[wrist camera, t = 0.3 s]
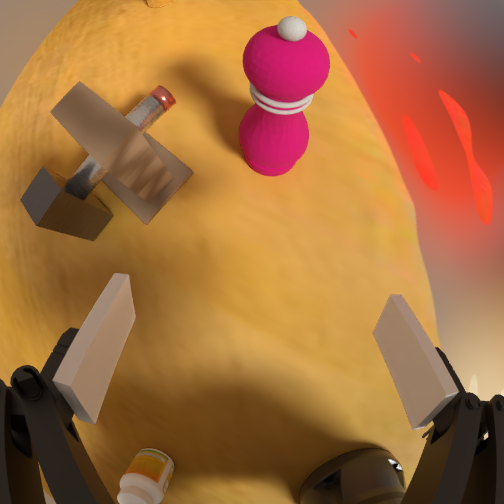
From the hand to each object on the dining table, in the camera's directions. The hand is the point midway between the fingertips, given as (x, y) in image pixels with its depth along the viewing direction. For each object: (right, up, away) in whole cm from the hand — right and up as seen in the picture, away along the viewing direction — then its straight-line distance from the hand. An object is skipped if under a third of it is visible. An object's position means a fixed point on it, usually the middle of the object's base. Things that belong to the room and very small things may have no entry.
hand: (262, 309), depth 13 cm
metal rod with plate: (-15, +12, +18) cm, 26 cm away
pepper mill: (+2, +14, +19) cm, 24 cm away
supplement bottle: (-13, -25, +15) cm, 32 cm away
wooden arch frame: (-14, +13, +18) cm, 26 cm away
